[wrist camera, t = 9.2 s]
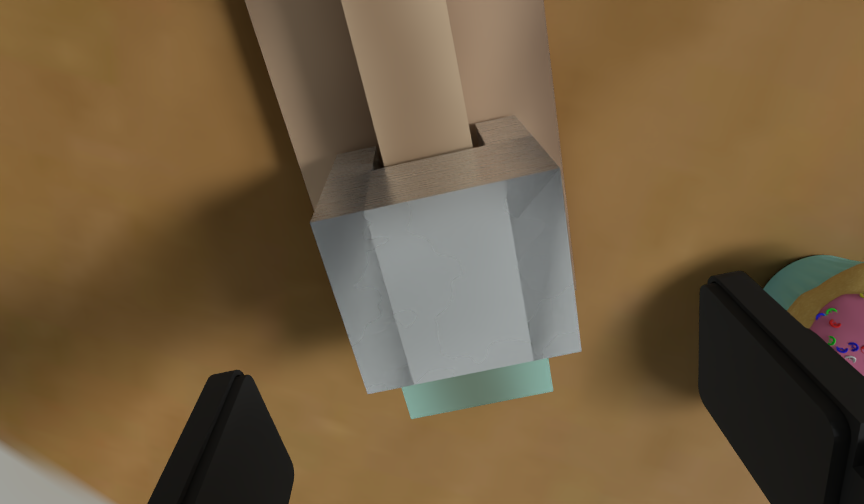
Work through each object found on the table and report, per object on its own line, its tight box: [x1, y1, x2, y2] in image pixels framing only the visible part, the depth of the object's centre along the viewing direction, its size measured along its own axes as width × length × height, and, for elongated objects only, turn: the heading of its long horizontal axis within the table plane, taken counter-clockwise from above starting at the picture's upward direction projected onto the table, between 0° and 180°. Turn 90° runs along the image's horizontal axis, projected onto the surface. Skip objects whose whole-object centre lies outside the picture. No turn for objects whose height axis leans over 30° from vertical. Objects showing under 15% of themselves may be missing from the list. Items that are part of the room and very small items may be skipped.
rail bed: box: [245, 0, 576, 419], centre depth 18 cm, size 10×22×7 cm, turn 12°
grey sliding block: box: [310, 115, 581, 394], centre depth 19 cm, size 7×6×7 cm
